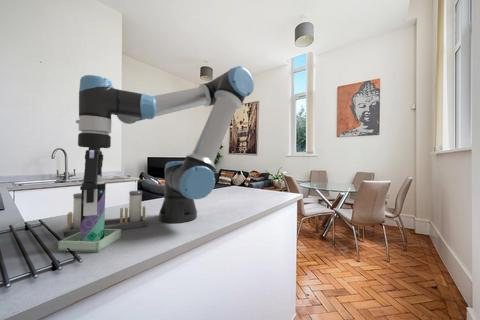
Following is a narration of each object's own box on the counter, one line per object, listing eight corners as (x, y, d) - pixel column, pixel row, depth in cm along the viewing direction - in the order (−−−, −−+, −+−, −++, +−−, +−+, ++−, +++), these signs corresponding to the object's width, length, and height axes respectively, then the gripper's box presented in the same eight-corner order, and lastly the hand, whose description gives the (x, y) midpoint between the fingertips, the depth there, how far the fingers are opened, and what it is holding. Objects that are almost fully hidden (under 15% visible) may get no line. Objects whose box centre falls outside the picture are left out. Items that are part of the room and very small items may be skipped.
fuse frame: (144, 219, 82) (144, 204, 82) (146, 226, 74) (147, 209, 74) (70, 227, 71) (70, 210, 71) (63, 236, 63) (64, 216, 63)
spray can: (77, 246, 55) (79, 171, 55) (83, 238, 60) (85, 169, 60) (101, 243, 57) (103, 171, 57) (105, 236, 62) (107, 169, 62)
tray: (120, 237, 64) (120, 229, 64) (97, 252, 53) (98, 242, 53) (87, 236, 64) (87, 228, 64) (58, 251, 53) (58, 241, 53)
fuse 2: (143, 222, 79) (144, 190, 79) (137, 226, 74) (138, 192, 74) (132, 222, 79) (133, 190, 79) (126, 225, 74) (127, 192, 74)
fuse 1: (91, 228, 71) (92, 193, 71) (82, 232, 66) (83, 195, 66) (79, 228, 71) (80, 192, 71) (68, 232, 66) (70, 194, 66)
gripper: (85, 136, 67) (83, 201, 67) (68, 126, 46) (66, 223, 46) (112, 137, 71) (110, 199, 71) (108, 130, 49) (106, 219, 50)
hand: (93, 209), depth 58 cm, fingers open, 13 cm apart
